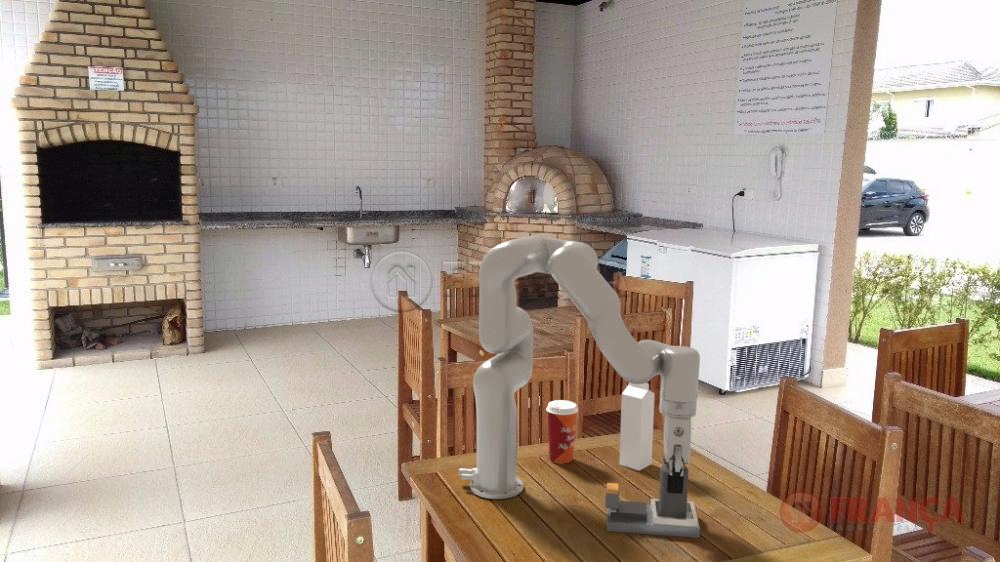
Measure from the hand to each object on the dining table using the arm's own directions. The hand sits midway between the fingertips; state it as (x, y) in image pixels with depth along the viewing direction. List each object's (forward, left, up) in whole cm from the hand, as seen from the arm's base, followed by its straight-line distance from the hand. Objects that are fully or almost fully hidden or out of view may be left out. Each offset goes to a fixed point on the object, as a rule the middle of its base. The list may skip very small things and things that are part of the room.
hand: (672, 482), depth 163 cm
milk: (-7, +32, -10) cm, 34 cm away
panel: (-4, 0, -9) cm, 10 cm away
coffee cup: (-26, +32, -10) cm, 42 cm away
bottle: (0, 0, -8) cm, 8 cm away
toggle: (-13, 0, -6) cm, 14 cm away
